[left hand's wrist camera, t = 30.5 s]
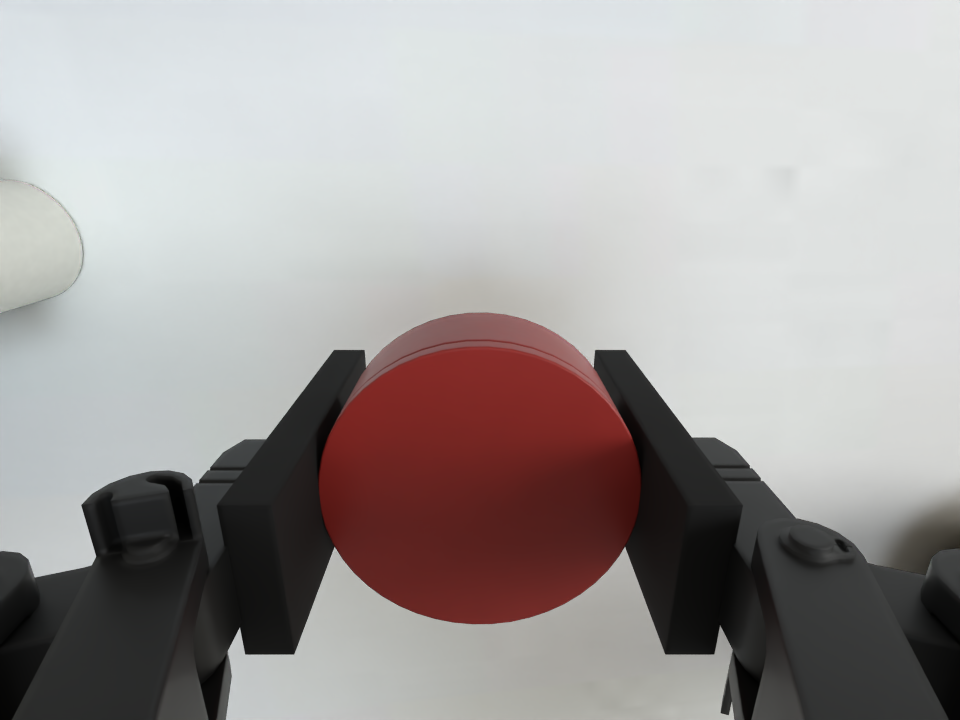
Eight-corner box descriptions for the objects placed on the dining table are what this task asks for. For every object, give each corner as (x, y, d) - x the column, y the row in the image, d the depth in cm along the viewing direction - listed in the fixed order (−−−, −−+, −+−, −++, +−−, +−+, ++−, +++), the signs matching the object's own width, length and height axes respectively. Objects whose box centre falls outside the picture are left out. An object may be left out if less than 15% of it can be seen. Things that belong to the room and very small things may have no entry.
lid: (289, 410, 12) (248, 463, 10) (518, 253, 10) (528, 276, 8) (448, 589, 13) (443, 668, 11) (662, 471, 12) (699, 534, 10)
